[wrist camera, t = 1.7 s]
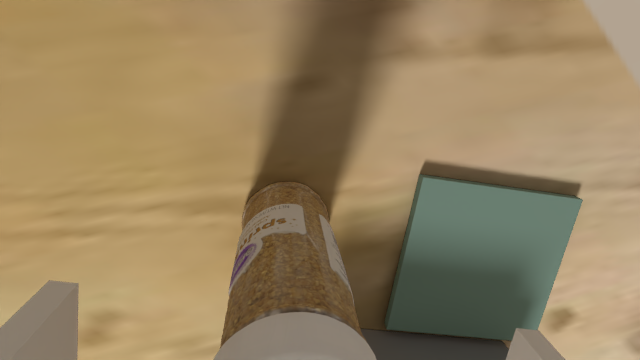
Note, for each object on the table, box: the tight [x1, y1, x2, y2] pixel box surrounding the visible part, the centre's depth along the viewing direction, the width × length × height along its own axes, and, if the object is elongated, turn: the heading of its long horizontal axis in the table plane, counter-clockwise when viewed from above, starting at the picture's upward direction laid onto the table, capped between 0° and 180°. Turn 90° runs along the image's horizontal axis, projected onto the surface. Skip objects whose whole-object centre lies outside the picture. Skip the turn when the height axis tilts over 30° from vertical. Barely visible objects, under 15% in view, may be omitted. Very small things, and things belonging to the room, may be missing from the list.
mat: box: [384, 174, 583, 341], centre depth 24 cm, size 9×9×1 cm
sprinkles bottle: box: [213, 182, 377, 360], centre depth 16 cm, size 5×5×14 cm
